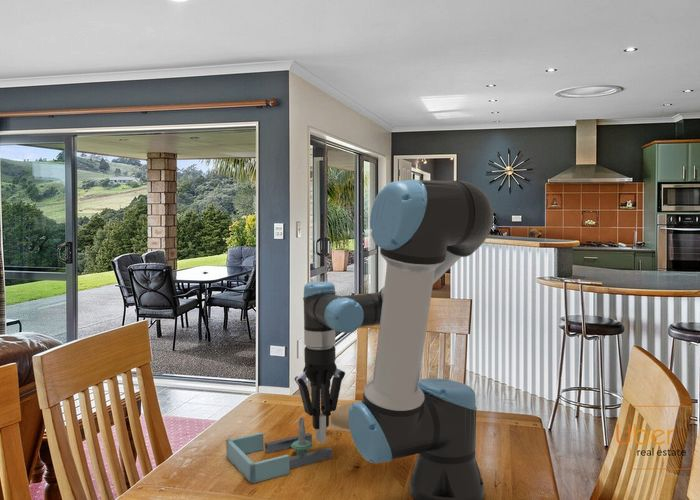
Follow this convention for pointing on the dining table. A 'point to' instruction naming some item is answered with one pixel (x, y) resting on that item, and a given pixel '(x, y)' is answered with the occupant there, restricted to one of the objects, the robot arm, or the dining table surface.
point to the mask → (340, 418)
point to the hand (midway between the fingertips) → (320, 440)
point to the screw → (301, 440)
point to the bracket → (258, 469)
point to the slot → (302, 458)
